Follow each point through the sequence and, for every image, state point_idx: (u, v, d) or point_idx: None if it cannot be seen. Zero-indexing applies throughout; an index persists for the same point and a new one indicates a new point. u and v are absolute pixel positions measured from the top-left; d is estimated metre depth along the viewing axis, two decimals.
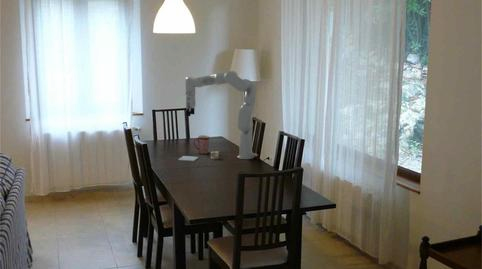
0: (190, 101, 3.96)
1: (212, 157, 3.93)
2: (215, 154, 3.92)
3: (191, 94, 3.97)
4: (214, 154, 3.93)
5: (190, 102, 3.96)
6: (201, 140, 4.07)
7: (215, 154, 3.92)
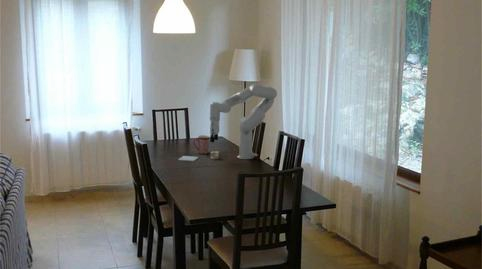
0: (215, 127, 3.86)
1: (212, 157, 3.93)
2: (215, 154, 3.92)
3: (216, 120, 3.87)
4: (214, 154, 3.93)
5: (214, 128, 3.86)
6: (201, 140, 4.07)
7: (215, 154, 3.92)
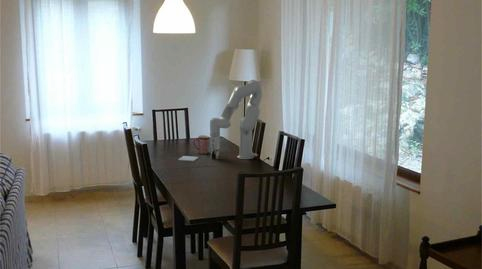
0: (215, 143, 3.88)
1: None
2: None
3: (216, 136, 3.89)
4: None
5: (215, 144, 3.89)
6: (201, 140, 4.07)
7: None
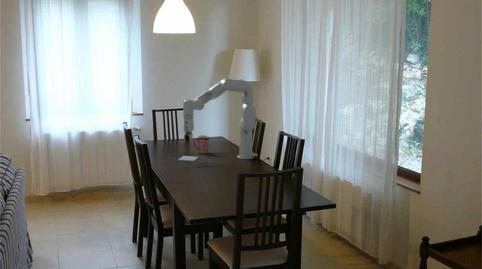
0: (188, 125, 3.81)
1: None
2: None
3: (189, 117, 3.82)
4: None
5: (188, 126, 3.81)
6: (201, 140, 4.07)
7: (189, 136, 3.85)
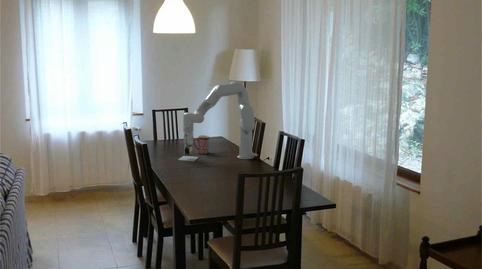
0: (188, 138, 3.83)
1: None
2: None
3: (189, 130, 3.83)
4: None
5: (188, 139, 3.83)
6: (201, 140, 4.07)
7: (189, 149, 3.87)
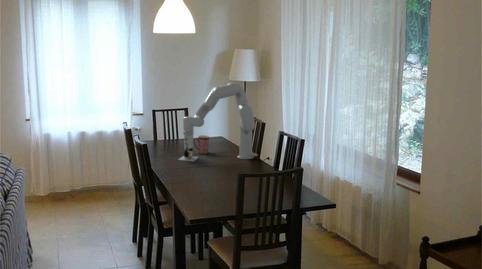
0: (188, 142, 3.83)
1: (186, 157, 3.89)
2: (189, 154, 3.88)
3: (189, 134, 3.84)
4: None
5: (188, 143, 3.84)
6: (201, 140, 4.07)
7: (189, 154, 3.88)
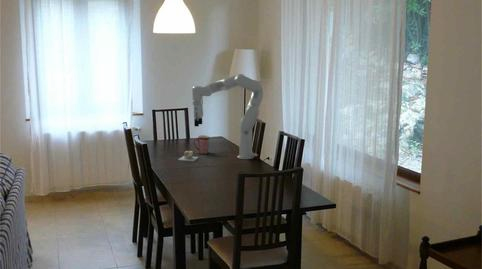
0: (198, 111, 3.86)
1: (186, 157, 3.89)
2: (189, 154, 3.88)
3: (199, 104, 3.86)
4: (188, 154, 3.88)
5: (198, 112, 3.86)
6: (201, 140, 4.07)
7: (189, 154, 3.88)
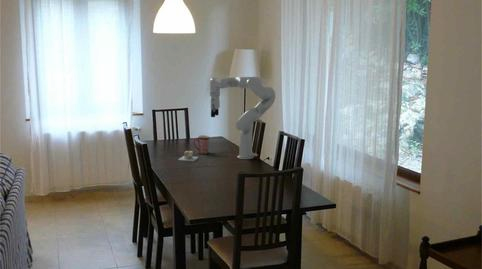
0: (215, 102, 3.96)
1: (186, 157, 3.89)
2: (189, 154, 3.88)
3: (216, 95, 3.97)
4: (188, 154, 3.88)
5: (215, 103, 3.96)
6: (201, 140, 4.07)
7: (189, 154, 3.88)
